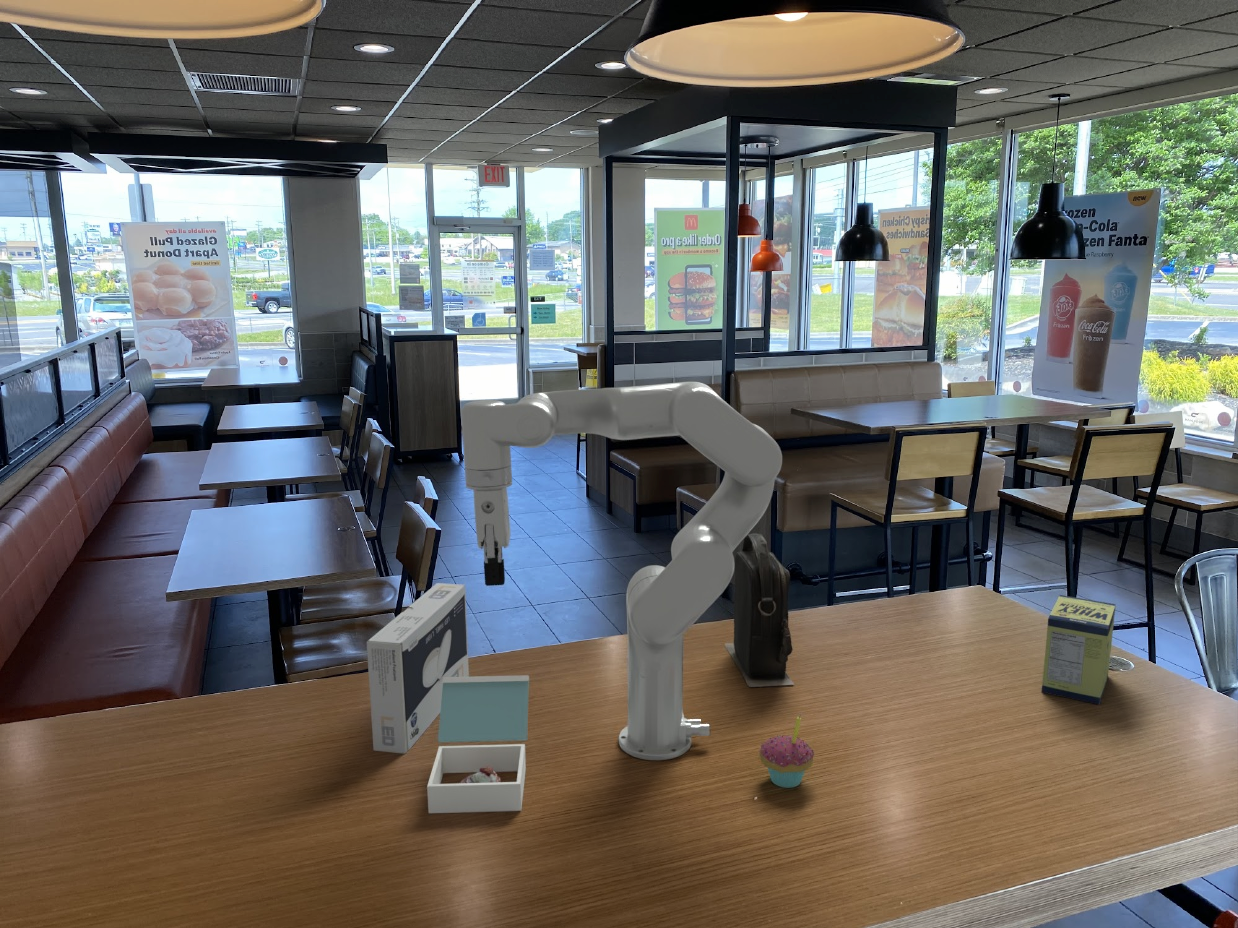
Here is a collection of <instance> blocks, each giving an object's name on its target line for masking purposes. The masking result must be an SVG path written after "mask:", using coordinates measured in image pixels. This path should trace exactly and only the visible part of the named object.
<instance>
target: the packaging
mask: <svg viewBox="0 0 1238 928" xmlns="http://www.w3.org/2000/svg"><path fill="white" fill-rule="evenodd" d="M467 623H468V621H467V598H466V585H465V584H460V583H459V584H458V583H442V582H436V583H435V584H434V585H433V586H431V588H430V589H428V590H427V591H426V592H424V594H422V595H421V596H420V597H419V598H418V599H416V600H415V601H414V602H412V603H411V604H410V605H409V606H408V607H407V608H406V609H405V610H404V611H402V612H400V614H398V615H397V616H395V618H393V619H392V620H391V621H390V622H388V623H387V624H386V625H385V626H384V627H383V628H381V629H380V630H379V631H378V632H377V633H375V634H374V635H372V637H370V639H368V640H367V641H366V654H367V668H368V670H367V671H368V681H369V684H368V685H369V699H370V716H371V717H370V719H371V732H372V733H371V734H372V744H373V745H372V747H373V751H374V752H375V751H377V752H387V753H396V754H404V755H405V754H407V752H409V751H410V750H411V748H412V747H413V746H414V745H415V743H416V742H418V740H419V739H420V738H421V737H422V735H423V734H424V733H425V732H426V730H427V729H428V728H429V727H430V726H431V724H433V722H434V721H435V720H436V718H437V717H438V716H440V711H441V699H442V688H443V677H470V672H469V670H470V669H469V648H468V645H469V644H468V624H467Z"/></svg>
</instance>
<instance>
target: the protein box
mask: <svg viewBox="0 0 1238 928" xmlns="http://www.w3.org/2000/svg"><path fill="white" fill-rule="evenodd" d="M1116 605H1117V604H1116V603H1109V602H1105V601H1097V600H1092V599H1087V598H1082V597H1080V598H1079V597H1075V596H1069V595H1063V594H1059V596H1058V598H1057V600H1056V602H1055V604H1054V606H1053V608H1052V610H1051V612H1050V614H1049V615H1048V617H1047V618H1048V619H1047V630H1046V641H1045V651H1044V652H1045V653H1044V662H1043V672H1042V684H1041V693H1043V694H1044V693H1045V694H1048V695H1054V696H1058V697H1061V698H1068V699H1072V700H1077V701H1080V702H1085V703H1090V704H1091V703H1092V704H1094V705H1098V706H1099V705H1100V704H1101V702H1102V698H1103V696H1104V692H1105V689H1106V684H1107V681H1108V677H1109V670H1110V662H1111V660H1110V659H1111V651H1112V642H1113V635H1114V634H1113V633H1114V632H1113V631H1114V624H1115V615H1116Z"/></svg>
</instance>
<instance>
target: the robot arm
mask: <svg viewBox="0 0 1238 928" xmlns="http://www.w3.org/2000/svg"><path fill="white" fill-rule="evenodd" d="M460 411H461V413H460V414H461V416H460V417H461V432H462V433H461V434H462V446H463V447H462V448H463V461H464V462H463V463H464V476H465V487H466V488H467V489H469V490H473V505H474V521H475V531H476V541H477V547H478V548H479V549H480V550H483V558H484V560H483V572H484V573H483V574H484V585H485V586H486V587H487V586H491V587H492V586H503V585H505V581H506V576H505V573H506V572H505V560H504V558H503V549H507V548H508V547H509V545H510V539H511V526H510V525H511V524H510V523H511V522H510V508H509V497H508V496H509V495H508V489H507V488H510V486H512V485H513V476H512V474H513V471H512V457H511V456H512V454H511V453H512V451H511V447H515V448H516V447H517V448H525V449H528V448H529V449H535V448H540V447H542V446H544V445H545V444H547V443H548V442H549V441H551V439H552V437H553V436H559V435H569V434H570V435H571V434H572V435H573V434H593V435H599V436H603V437H606V438H608V439H611V440H620V441H627V440H628V441H629V440H630V441H631V440H638V439H639V440H640V439H648V438H661V437H674V436H675V437H676V436H677V437H678V436H680V437H681V438H682V439H683V440H685V442H687V443H688V444H689V445H691V446H692V447H693V448H694V449H695V450H696V451H698V452H699V453H700V454H702V455H703V456H704V457H706V458H707V459H708V460H709V461H711V463H713V464H715V465H716V466H718V467H719V468H720V469H721V470H723V471H724V475H723V479H722V481H721V483H720V485H719V487H718V488H717V490H715V492H714V493H713V494H712V496H710V499H708V500H707V502H706V503H705V504H704V506H702V507H701V509H700V510H699V511H698V512H697V513H696V514H695V515H694V516H693V517H692V518H691V519H690V520H689V521H688V522H687V524H685V525H684V526H683V527H682V528H681V529H680V530H679V531H678V532H677V533H676V535H675V536H674V537H673V540H672V542H671V547H670V552H671V553H670V554H671V561H670V562H669V563H668V564H667V565H666V566H662V565H657V564H655V565H654V564H653V565H646V566H644V567H642V568H640V569H639V570H638V571H636V572H635V573H634V575H632V577H631V579H629V582H628V584H627V588H626V595H625V596H626V597H625V598H626V599H625V600H626V601H625V602H626V624H627V625H626V626H627V658H626V659H627V725H626V726H625V727H624V728H623V729H621V730H620V732H619V733H618V734H619V735H618V744H619V747H620V748H621V750H622V751H624V752H625V753H626V754H628V755H630V756H631V757H634V758H637V759H641V760H647V761H666V760H671V759H674V758H677V757H680V756H681V755H684V754H685V753H687V752H688V751H689V749H690V748H691V745H692V736H703V737H705V736H710V734H711V731H710V730H711V729H710V724H709V723H702V721H701V719H700V718H693V719H692V718H691V719H688V718H686V717H685V715H684V711H683V699H684V698H683V693H684V692H683V687H684V686H683V685H684V682H683V681H684V673H683V672H684V633H686V632H687V631H688V630H689V629H690V628H691V627H692V626H693V625H694V624H695V623H696V622H697V621H698V620H699V618H701V617H702V615H703V614H705V612H706V611H707V610H708V609H709V608H710V607H711V606H712V605H713V604H714V603H715V601H716V600H718V599H719V597H720V596H721V595H722V594H723V593H724V592H725V590H726V589H727V588H728V586H729V584H730V583H731V581H732V578H733V576H734V574H735V556H734V554H733V553H734V551H735V549H737V547H738V546H739V545H740V543H742V541H744V538H745V537H746V536H747V535H748V534H750V532H751V531H752V530H753V528H755V526H756V525H757V524H758V523H759V521H760V519H762V517H764V514H765V512H766V511H767V509H768V507H769V504H770V502H771V499H772V497H773V492H774V488H775V487H774V486H775V482H776V477H777V476H778V475H779V473H780V471H781V469H782V466H783V465H782V464H783V454H782V450H781V447H780V446H779V444H778V442H776V440H775V439H774V438H773V437H772V436H771V435H770V434H769V433H768V432H767V431H766V430H765V429H764V428H762V427H761V426H759V425H757V424H755V423H752V422H751V421H750V420H748V419H747V418H746V417H744V416H743V414H740V413H739V412H738V411H737V410H736V409H734V407H732V406H731V405H730V404H729V403H727V401H725V400H724V399H723V398H722V397H720V396H719V394H718V393H717V392H716V391H715V390H713V388H712V387H710V386H709V385H707V384H705V383H704V382H703V383H702V382H699V381H682V382H681V381H680V382H671V383H669V382H668V383H659V384H658V383H657V384H648V385H634V386H621V387H620V386H619V387H602V388H589V389H587V388H586V389H570V390H569V389H568V390H567V389H565V390H557V391H556V390H554V391H544V392H535V393H530V394H528V395H525V396H523V397H521V398H520V399H519V400H518V401H517V402H516V403H510V404H509V403H508V404H506V402H503V401H501V400H495V399H481V400H480V399H479V400H473V401H470V402H467V403H465V404H464V405H463V406H462V408H461V410H460Z"/></svg>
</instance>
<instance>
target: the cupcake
mask: <svg viewBox="0 0 1238 928" xmlns="http://www.w3.org/2000/svg"><path fill="white" fill-rule="evenodd" d="M801 716H802V713H800V714H799V716H798V717H796V720H795V724H794V730H793V735H789V734H787V735H777V736H773V737H770V738H768V739H766V740H764V742H763V743H762V744H761V745H760V748H759V751H758V752H759V753H758V754H759V757H760V762H761V764H763V765H764V766H765V767H766V768H767V770H768V774H769V777H770V780H771V782H772V783H773V784H774V785H776V786H778V787H780V788H785V789H788V788H795V787H797V786H799V785H800V784H801V783H802V779H803V777H804V774H805V772H806V771H808V770H809V768H811V767H812V766H813V762H814V756H815V755H814V754H815V751H814V750H813V749H812V747H810V746H809V744H808V743H807V742H805V741H804V740H803V739H801V738H800V737H798V735H799V730H800V724H801V720H802V718H801Z"/></svg>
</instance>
